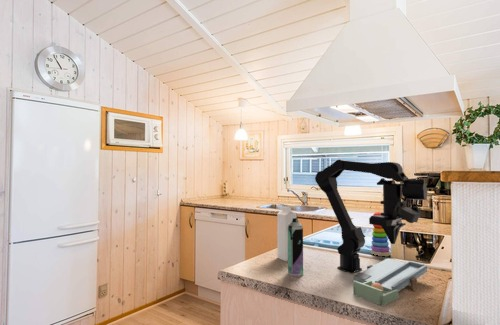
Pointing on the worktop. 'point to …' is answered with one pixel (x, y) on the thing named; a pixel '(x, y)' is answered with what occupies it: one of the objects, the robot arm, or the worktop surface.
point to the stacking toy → (379, 240)
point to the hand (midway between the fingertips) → (392, 243)
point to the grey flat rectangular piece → (392, 274)
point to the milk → (283, 231)
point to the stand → (411, 287)
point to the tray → (374, 293)
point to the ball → (377, 286)
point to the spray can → (295, 248)
